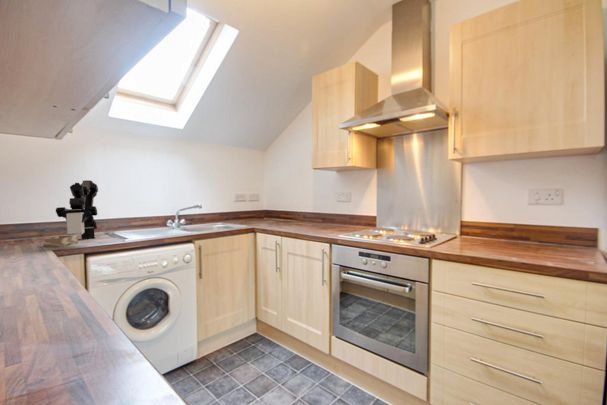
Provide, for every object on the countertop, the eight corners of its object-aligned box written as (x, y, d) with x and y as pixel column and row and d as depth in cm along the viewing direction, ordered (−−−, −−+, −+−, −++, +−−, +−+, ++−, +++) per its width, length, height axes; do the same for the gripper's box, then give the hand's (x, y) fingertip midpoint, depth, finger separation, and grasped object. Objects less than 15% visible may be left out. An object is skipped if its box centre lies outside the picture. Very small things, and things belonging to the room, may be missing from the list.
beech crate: (59, 243, 176) (59, 235, 176) (77, 242, 176) (77, 235, 176) (43, 246, 165) (42, 238, 165) (62, 246, 165) (62, 238, 165)
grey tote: (71, 233, 168) (69, 212, 167) (84, 232, 171) (83, 212, 170) (67, 235, 162) (66, 213, 162) (81, 234, 165) (80, 213, 164)
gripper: (55, 193, 165) (49, 214, 156) (95, 192, 173) (92, 212, 163) (60, 206, 172) (55, 227, 163) (98, 205, 180) (95, 225, 171)
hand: (74, 222), depth 165 cm, fingers closed on grey tote, 6 cm apart
